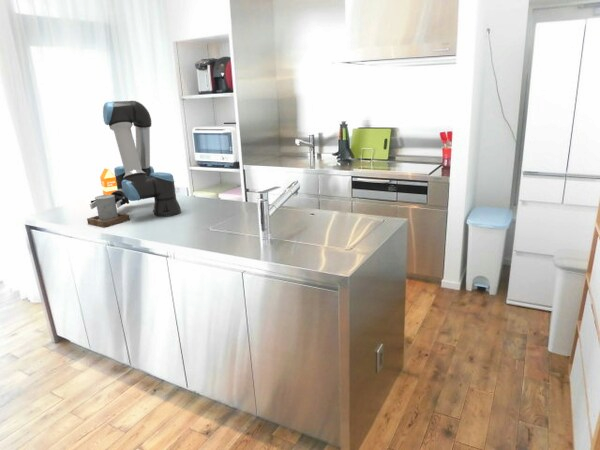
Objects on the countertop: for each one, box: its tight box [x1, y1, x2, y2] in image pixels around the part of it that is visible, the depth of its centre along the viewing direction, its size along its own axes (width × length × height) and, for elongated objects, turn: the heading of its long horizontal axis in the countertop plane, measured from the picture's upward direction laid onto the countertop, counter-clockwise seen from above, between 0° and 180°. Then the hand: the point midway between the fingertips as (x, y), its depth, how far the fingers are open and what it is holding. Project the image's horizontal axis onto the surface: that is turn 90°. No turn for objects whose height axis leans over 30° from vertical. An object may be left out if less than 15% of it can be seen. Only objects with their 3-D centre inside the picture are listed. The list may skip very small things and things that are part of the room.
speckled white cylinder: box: [94, 194, 119, 221], centre depth 222 cm, size 10×10×12 cm
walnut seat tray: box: [86, 212, 131, 229], centre depth 224 cm, size 15×15×3 cm
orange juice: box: [99, 167, 117, 195], centre depth 277 cm, size 8×9×20 cm
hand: (104, 205), depth 219 cm, fingers open, 13 cm apart
